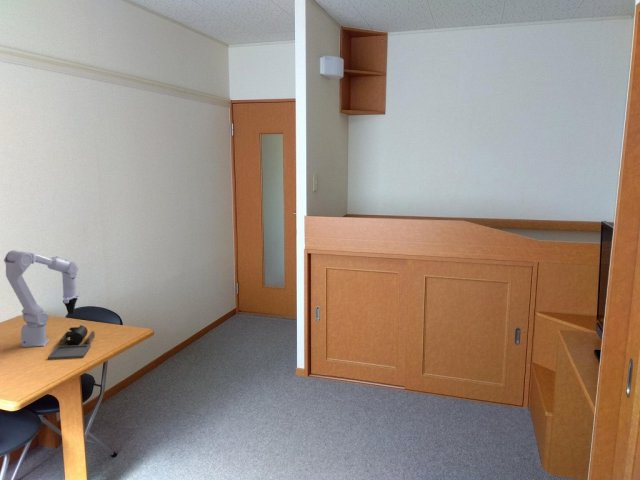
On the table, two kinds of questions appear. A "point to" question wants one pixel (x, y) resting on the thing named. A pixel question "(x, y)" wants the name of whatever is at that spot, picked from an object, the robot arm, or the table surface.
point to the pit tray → (69, 351)
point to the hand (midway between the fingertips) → (70, 313)
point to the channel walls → (89, 339)
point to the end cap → (76, 335)
